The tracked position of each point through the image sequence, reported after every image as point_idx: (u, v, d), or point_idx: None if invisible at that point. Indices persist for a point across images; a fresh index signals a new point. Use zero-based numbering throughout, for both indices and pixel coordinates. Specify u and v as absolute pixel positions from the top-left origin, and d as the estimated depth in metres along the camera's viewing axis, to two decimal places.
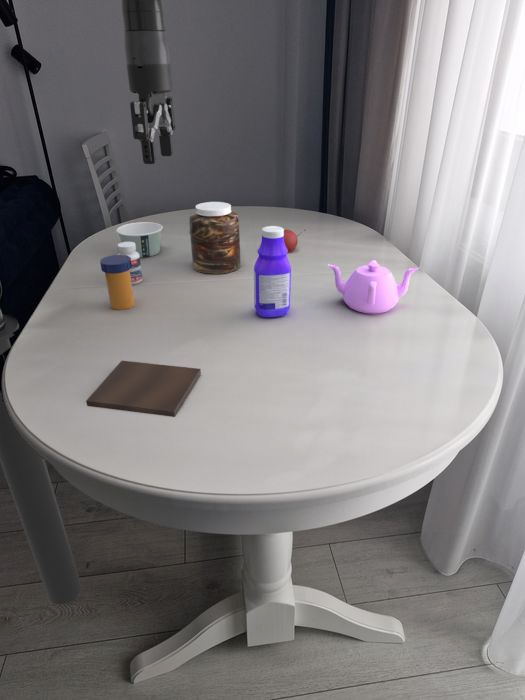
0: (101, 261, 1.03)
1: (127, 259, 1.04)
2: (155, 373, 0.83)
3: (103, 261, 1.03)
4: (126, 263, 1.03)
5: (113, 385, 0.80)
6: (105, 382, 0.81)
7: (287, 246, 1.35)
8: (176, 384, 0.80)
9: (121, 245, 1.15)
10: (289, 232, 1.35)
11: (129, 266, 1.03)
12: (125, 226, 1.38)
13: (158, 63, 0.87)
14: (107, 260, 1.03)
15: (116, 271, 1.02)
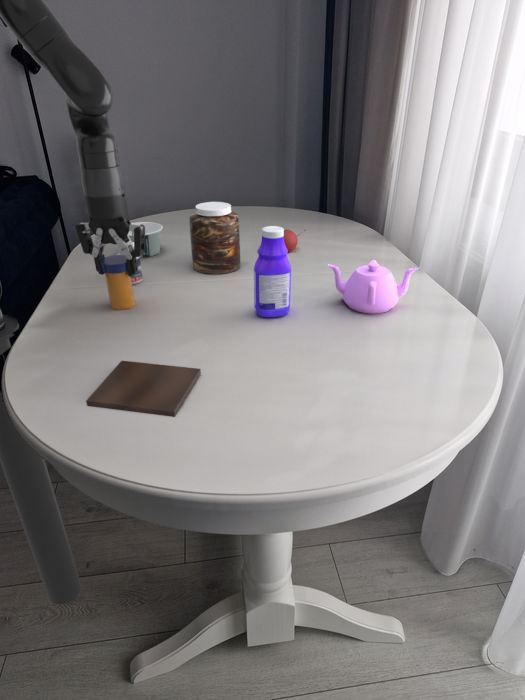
0: (101, 261, 1.03)
1: None
2: (155, 373, 0.83)
3: (103, 261, 1.03)
4: (126, 263, 1.03)
5: (113, 385, 0.80)
6: (105, 382, 0.81)
7: (287, 246, 1.35)
8: (176, 384, 0.80)
9: None
10: (289, 232, 1.35)
11: None
12: None
13: None
14: (107, 260, 1.03)
15: (116, 271, 1.02)
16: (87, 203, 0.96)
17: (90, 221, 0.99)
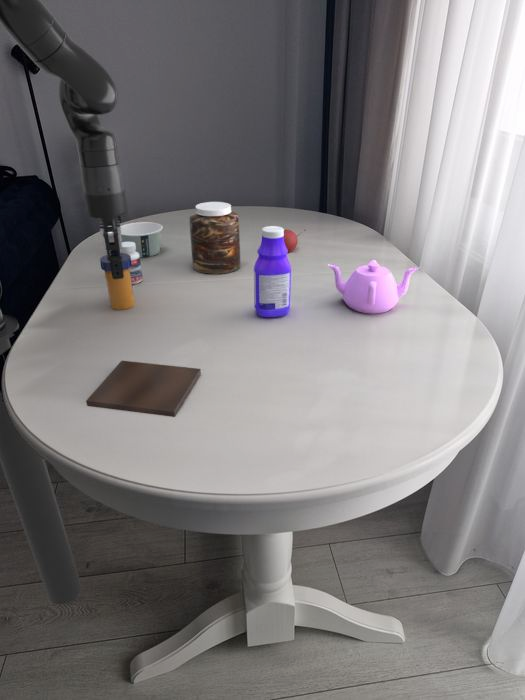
0: (123, 260, 1.02)
1: (112, 254, 1.05)
2: (155, 373, 0.83)
3: (122, 260, 1.02)
4: None
5: (113, 385, 0.80)
6: (105, 382, 0.81)
7: (287, 246, 1.35)
8: (176, 384, 0.80)
9: None
10: (289, 232, 1.35)
11: None
12: (125, 226, 1.38)
13: None
14: None
15: None
16: (122, 199, 0.97)
17: (115, 223, 0.97)
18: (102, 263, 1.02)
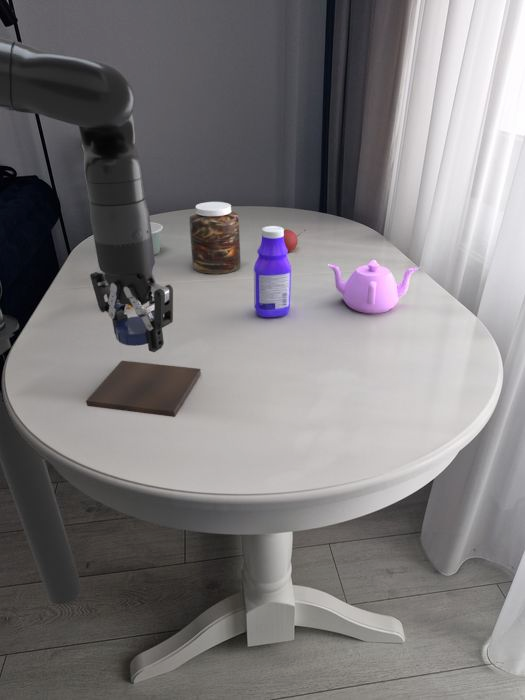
0: None
1: (122, 322, 0.76)
2: (155, 373, 0.83)
3: None
4: None
5: (113, 385, 0.80)
6: (105, 382, 0.81)
7: (287, 246, 1.35)
8: (176, 384, 0.80)
9: None
10: (289, 232, 1.35)
11: None
12: None
13: (94, 238, 0.67)
14: None
15: None
16: None
17: None
18: (131, 336, 0.72)
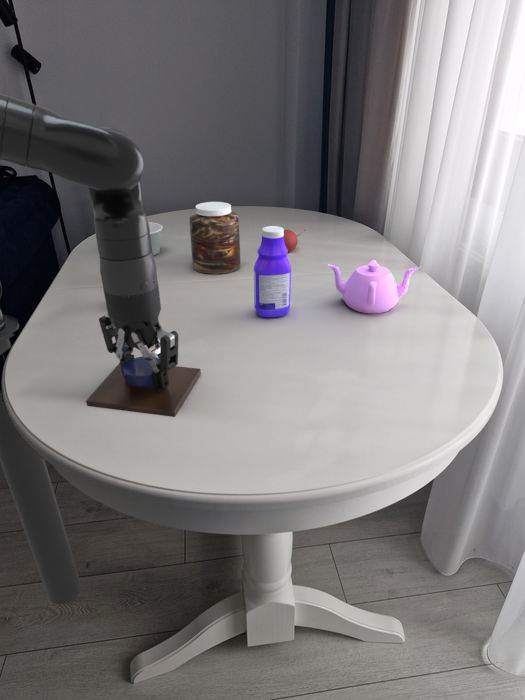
0: None
1: (129, 363, 0.79)
2: None
3: None
4: None
5: (113, 385, 0.80)
6: (105, 382, 0.81)
7: (287, 246, 1.35)
8: (176, 384, 0.80)
9: None
10: (289, 232, 1.35)
11: None
12: None
13: (103, 288, 0.71)
14: None
15: None
16: None
17: None
18: (138, 378, 0.76)
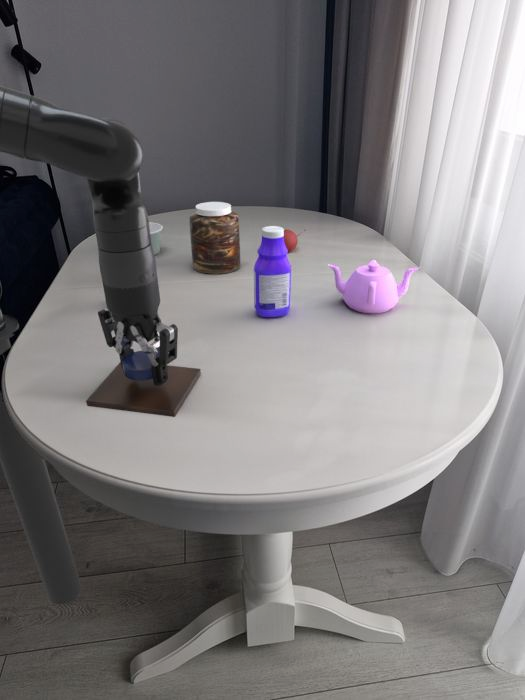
0: None
1: (128, 357, 0.79)
2: None
3: None
4: None
5: (113, 385, 0.80)
6: (105, 382, 0.81)
7: (287, 246, 1.35)
8: (176, 384, 0.80)
9: None
10: (289, 232, 1.35)
11: None
12: None
13: (102, 280, 0.70)
14: None
15: None
16: None
17: None
18: (138, 372, 0.76)
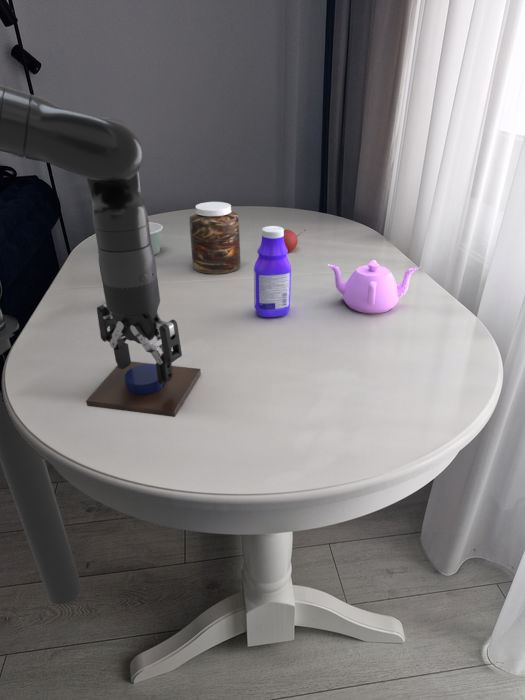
0: None
1: (130, 371, 0.80)
2: None
3: None
4: None
5: (113, 385, 0.80)
6: (105, 382, 0.81)
7: (287, 246, 1.35)
8: (176, 384, 0.80)
9: None
10: (289, 232, 1.35)
11: None
12: None
13: (102, 280, 0.70)
14: (154, 374, 0.79)
15: None
16: None
17: None
18: (140, 386, 0.77)
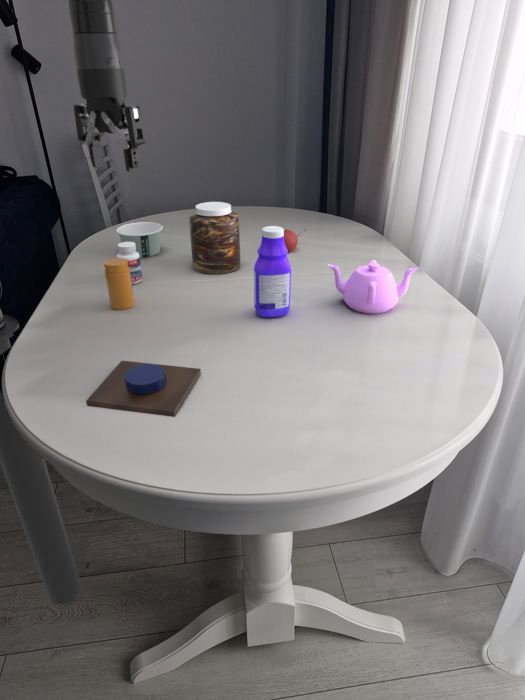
0: (162, 373, 0.79)
1: (130, 371, 0.80)
2: None
3: (160, 373, 0.79)
4: None
5: (113, 385, 0.80)
6: (105, 382, 0.81)
7: (287, 246, 1.35)
8: (176, 384, 0.80)
9: (121, 245, 1.15)
10: (289, 232, 1.35)
11: None
12: (125, 226, 1.38)
13: (76, 68, 0.83)
14: (154, 374, 0.79)
15: None
16: None
17: None
18: (140, 386, 0.77)
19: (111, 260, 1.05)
